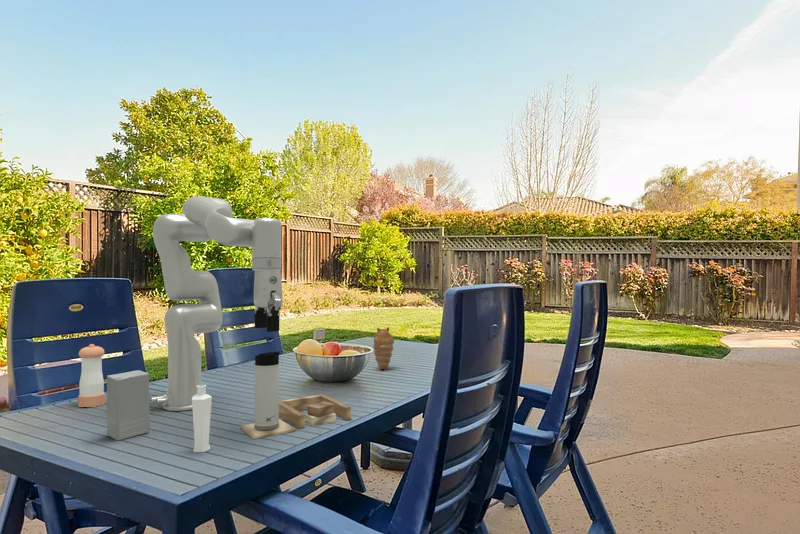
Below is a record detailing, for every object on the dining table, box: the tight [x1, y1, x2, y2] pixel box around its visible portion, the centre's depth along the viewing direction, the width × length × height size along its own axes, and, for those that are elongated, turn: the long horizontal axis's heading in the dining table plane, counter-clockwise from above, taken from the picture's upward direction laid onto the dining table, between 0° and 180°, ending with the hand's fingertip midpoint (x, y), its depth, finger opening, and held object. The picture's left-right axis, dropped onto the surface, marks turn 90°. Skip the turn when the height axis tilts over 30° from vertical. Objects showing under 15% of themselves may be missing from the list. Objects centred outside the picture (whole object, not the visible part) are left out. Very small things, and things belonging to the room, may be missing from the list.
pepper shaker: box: [77, 343, 106, 408], centre depth 163 cm, size 7×7×19 cm
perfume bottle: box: [192, 384, 213, 453], centre depth 122 cm, size 5×4×15 cm
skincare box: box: [106, 369, 150, 441], centre depth 133 cm, size 8×7×16 cm
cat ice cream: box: [372, 326, 395, 370], centre depth 219 cm, size 9×8×18 cm
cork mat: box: [239, 418, 296, 440], centre depth 137 cm, size 11×11×1 cm
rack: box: [279, 394, 352, 430], centre depth 149 cm, size 16×18×4 cm
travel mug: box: [253, 350, 281, 431], centre depth 137 cm, size 6×7×20 cm
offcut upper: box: [306, 402, 334, 418], centre depth 145 cm, size 6×4×2 cm
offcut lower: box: [304, 413, 337, 426], centre depth 144 cm, size 7×5×2 cm
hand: (266, 329), depth 138 cm, fingers open, 9 cm apart
